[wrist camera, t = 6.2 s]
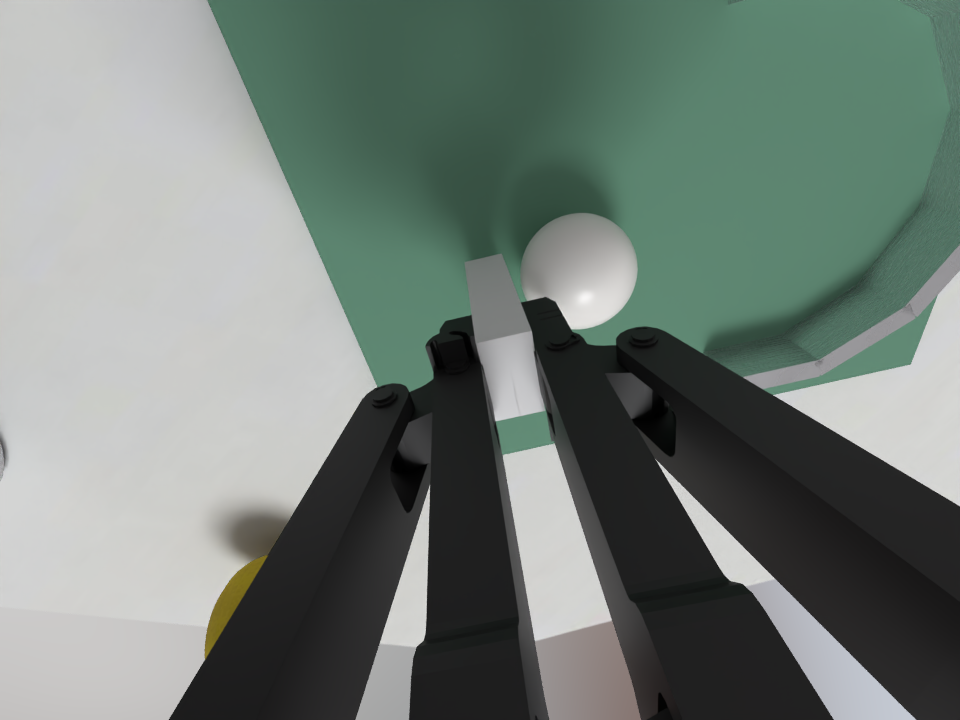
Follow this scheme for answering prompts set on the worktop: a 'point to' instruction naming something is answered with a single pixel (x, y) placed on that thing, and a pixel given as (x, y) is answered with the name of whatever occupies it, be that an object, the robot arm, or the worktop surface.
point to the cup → (896, 272)
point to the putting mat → (598, 155)
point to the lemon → (230, 601)
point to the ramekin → (1, 462)
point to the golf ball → (580, 268)
